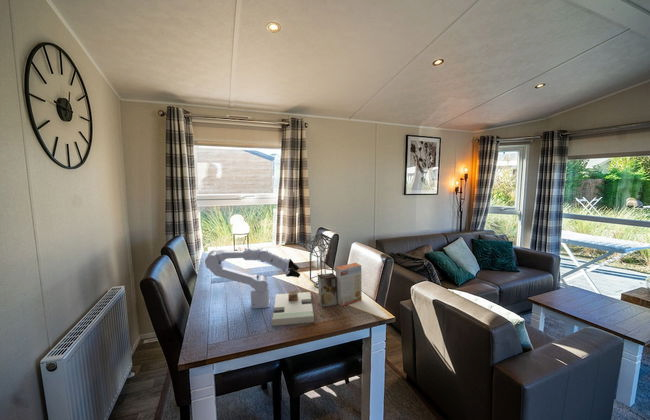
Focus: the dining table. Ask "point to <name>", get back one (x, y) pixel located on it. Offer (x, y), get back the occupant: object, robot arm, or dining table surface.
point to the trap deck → (292, 309)
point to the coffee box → (327, 289)
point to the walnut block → (293, 296)
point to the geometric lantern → (320, 250)
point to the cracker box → (348, 284)
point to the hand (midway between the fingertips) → (298, 272)
